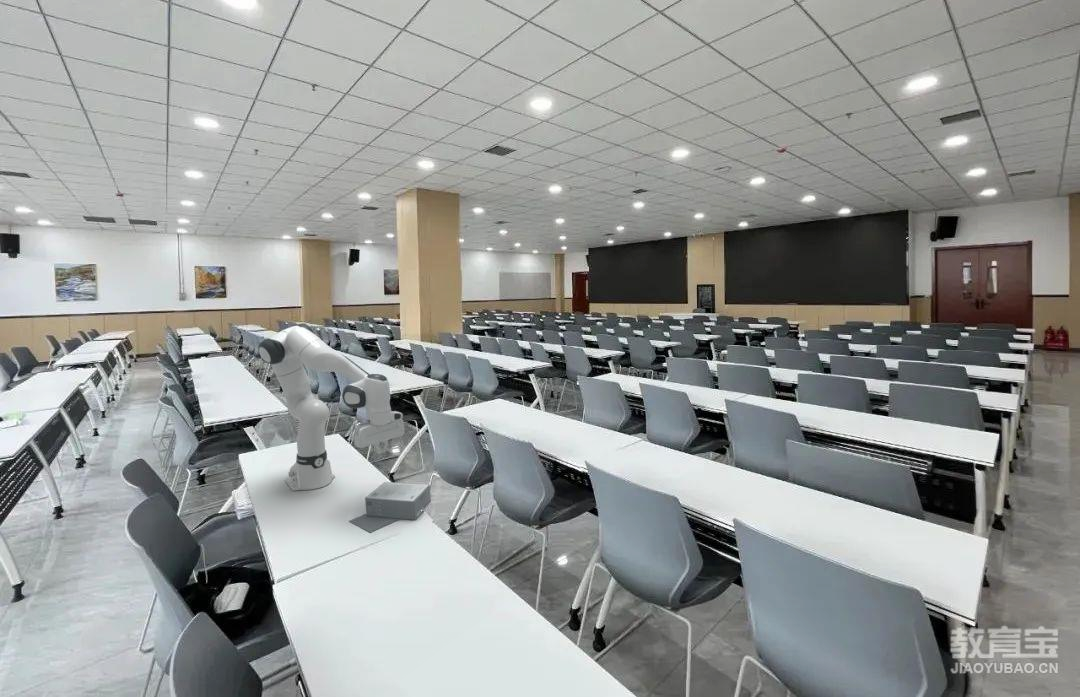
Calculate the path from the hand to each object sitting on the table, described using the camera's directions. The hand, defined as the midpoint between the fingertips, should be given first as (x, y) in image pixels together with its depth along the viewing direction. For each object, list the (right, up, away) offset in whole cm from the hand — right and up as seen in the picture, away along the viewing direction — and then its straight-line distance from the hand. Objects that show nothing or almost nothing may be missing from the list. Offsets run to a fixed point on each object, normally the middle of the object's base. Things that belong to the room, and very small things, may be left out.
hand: (381, 452), depth 192 cm
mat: (+2, -24, 0) cm, 24 cm away
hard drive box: (-4, -19, +6) cm, 21 cm away
